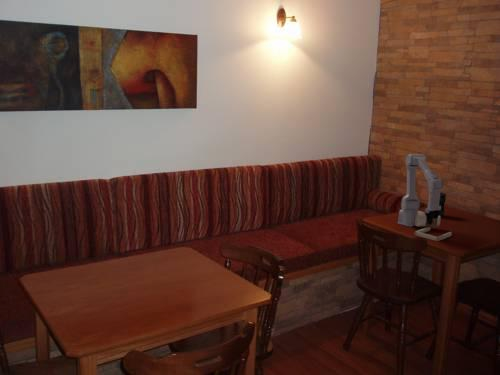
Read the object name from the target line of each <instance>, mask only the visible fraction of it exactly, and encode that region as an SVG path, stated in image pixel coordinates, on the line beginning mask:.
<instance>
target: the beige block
mask: <svg viewBox="0 0 500 375" xmlns="http://www.w3.org/2000/svg"><path fill="white" fill-rule="evenodd" d="M424 227H426V228H427V227H431V228H430V229H434V228H437V227H438V226H437V219H435V218H433V221H432V224H428V223H427V219H426V225H425V226H424Z"/></svg>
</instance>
